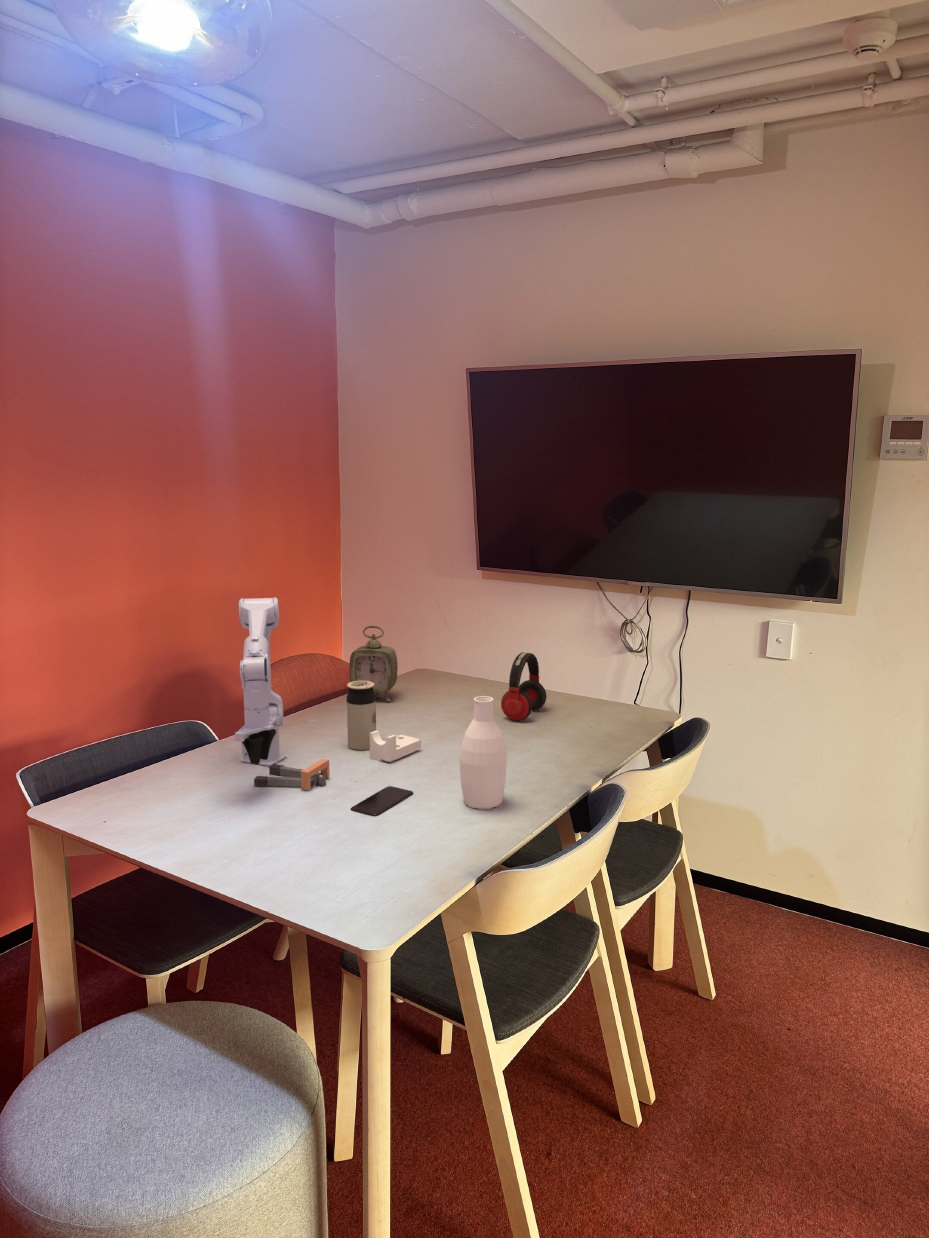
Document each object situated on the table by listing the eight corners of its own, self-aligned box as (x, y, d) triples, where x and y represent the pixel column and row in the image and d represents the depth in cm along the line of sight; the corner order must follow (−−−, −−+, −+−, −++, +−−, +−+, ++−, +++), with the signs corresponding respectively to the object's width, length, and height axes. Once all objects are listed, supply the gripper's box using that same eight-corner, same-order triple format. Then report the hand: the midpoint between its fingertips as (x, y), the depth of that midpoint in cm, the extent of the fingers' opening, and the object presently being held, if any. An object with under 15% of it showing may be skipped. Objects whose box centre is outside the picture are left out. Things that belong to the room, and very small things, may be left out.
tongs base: (331, 781, 218) (331, 771, 217) (322, 787, 214) (322, 777, 213) (274, 771, 224) (274, 761, 224) (264, 776, 221) (264, 767, 220)
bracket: (390, 765, 230) (389, 738, 228) (370, 759, 234) (369, 732, 232) (421, 751, 240) (420, 725, 238) (401, 746, 244) (401, 720, 243)
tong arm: (314, 784, 215) (314, 778, 215) (311, 787, 213) (311, 781, 212) (257, 782, 216) (256, 775, 216) (254, 785, 214) (253, 779, 214)
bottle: (452, 797, 208) (452, 695, 203) (494, 790, 212) (495, 689, 207) (470, 815, 198) (471, 707, 193) (514, 807, 202) (516, 702, 197)
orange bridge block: (329, 776, 220) (329, 759, 219) (308, 790, 211) (307, 772, 210) (322, 775, 221) (322, 758, 220) (301, 788, 212) (300, 771, 211)
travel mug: (342, 748, 241) (341, 686, 238) (356, 739, 249) (355, 679, 245) (368, 752, 239) (366, 689, 235) (381, 743, 246) (380, 681, 242)
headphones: (527, 725, 262) (528, 661, 258) (497, 720, 266) (498, 657, 262) (549, 710, 277) (550, 649, 273) (520, 706, 282) (521, 645, 278)
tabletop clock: (350, 702, 286) (348, 627, 281) (357, 694, 294) (356, 622, 290) (392, 704, 283) (391, 629, 278) (399, 696, 292) (398, 623, 287)
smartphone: (376, 819, 197) (415, 794, 210) (376, 815, 197) (415, 791, 210) (348, 811, 201) (388, 788, 214) (348, 808, 201) (388, 784, 214)
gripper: (251, 717, 197) (254, 773, 200) (288, 700, 210) (290, 753, 213) (226, 713, 200) (229, 769, 203) (264, 697, 213) (266, 749, 216)
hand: (259, 761), depth 208 cm, fingers open, 3 cm apart
